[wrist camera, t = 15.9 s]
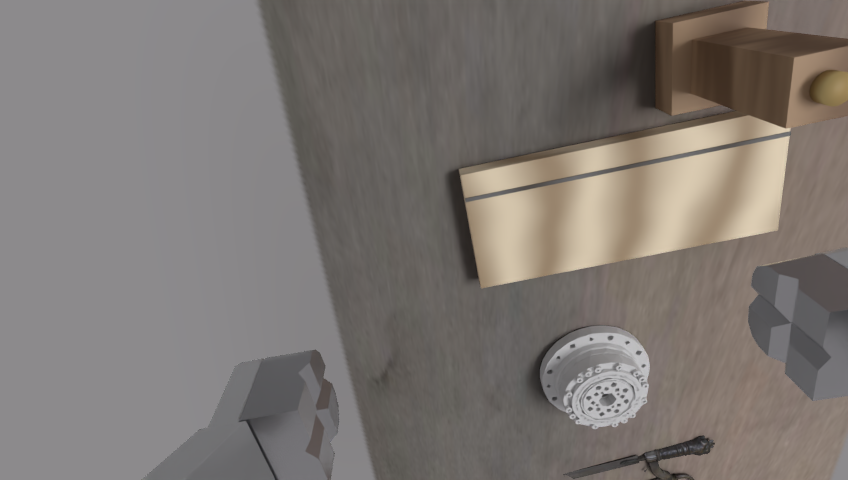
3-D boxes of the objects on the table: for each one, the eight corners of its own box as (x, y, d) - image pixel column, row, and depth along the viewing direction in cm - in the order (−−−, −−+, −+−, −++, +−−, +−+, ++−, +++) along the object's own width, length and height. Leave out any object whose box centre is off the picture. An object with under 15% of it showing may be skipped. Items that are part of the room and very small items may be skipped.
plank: (478, 278, 43) (481, 288, 42) (458, 168, 38) (460, 175, 37) (765, 222, 42) (778, 230, 40) (779, 101, 37) (794, 106, 36)
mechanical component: (518, 359, 47) (570, 420, 51) (529, 393, 43) (584, 456, 47) (613, 304, 45) (660, 372, 49) (634, 334, 41) (682, 406, 45)
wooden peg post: (655, 107, 37) (768, 161, 26) (655, 20, 34) (781, 37, 23) (738, 90, 37) (890, 136, 25) (744, 0, 34) (918, 7, 23)
